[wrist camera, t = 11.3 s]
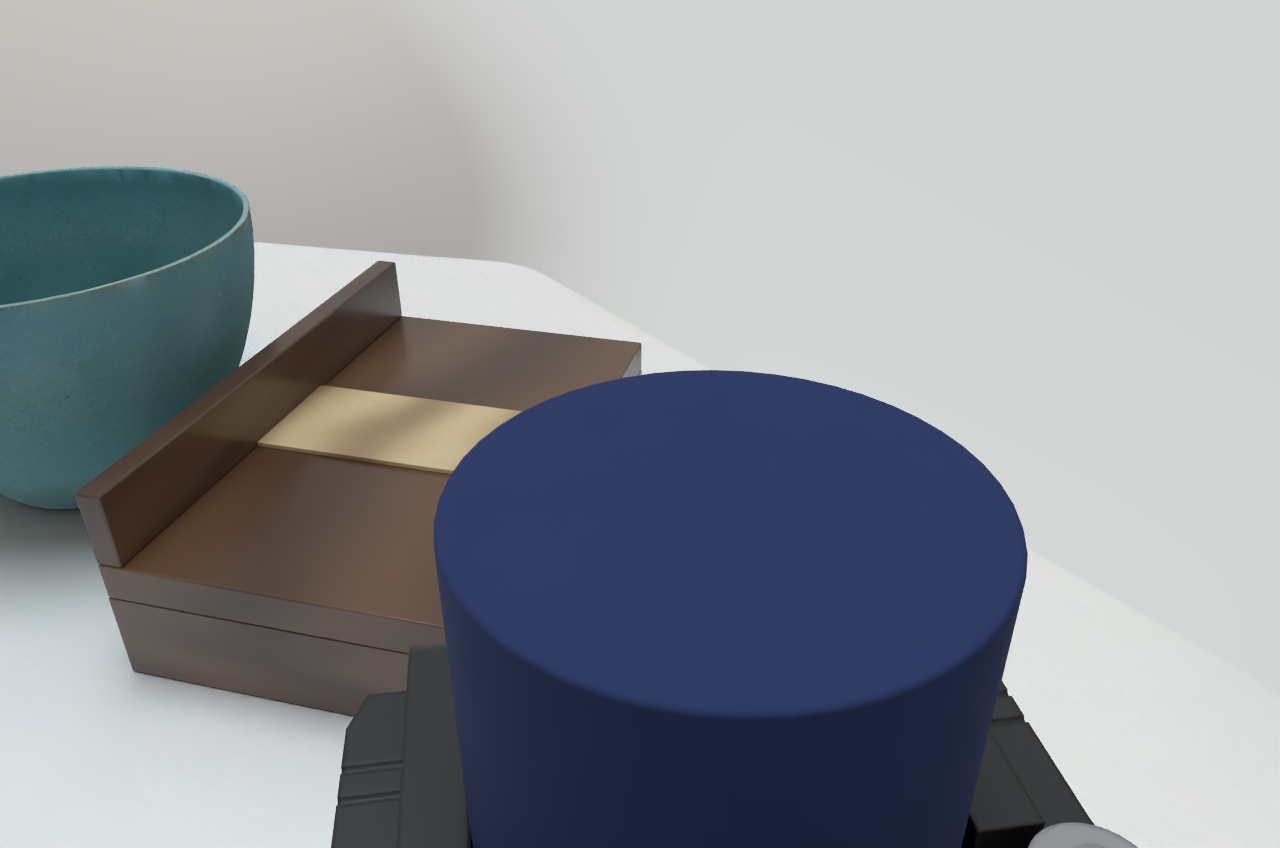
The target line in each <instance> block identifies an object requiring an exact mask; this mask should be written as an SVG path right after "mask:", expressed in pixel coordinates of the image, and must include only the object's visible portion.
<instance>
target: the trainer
mask: <svg viewBox="0 0 1280 848" xmlns="http://www.w3.org/2000/svg"><path fill="white" fill-rule="evenodd" d="M434 553H435V561H436V568H437V576H438V584H439V592H440V600H441V608H442V615H443V623H444V631H445V639H446V647H447V655H448V662H449V670H450V678H451V686H452V694H453V702H454V710H455V717H456V725H457V733H458V741H459V749H460V757H461V764H462V772H463V780H464V788H465V796H466V804H467V811H468V819H469V827H470V834H471V841H472V848H961V847H962V842H963V838H964V834H965V830H966V826H967V822H968V817H969V813H970V809H971V805H972V801H973V797H974V793H975V788H976V784H977V780H978V776H979V772H980V768H981V763H982V759H983V755H984V751H985V747H986V743H987V738H988V734H989V730H990V726H991V722H992V718H993V713H994V709H995V705H996V701H997V697H998V693H999V688H1000V684H1001V680H1002V676H1003V672H1004V668H1005V663H1006V659H1007V655H1008V651H1009V647H1010V643H1011V638H1012V634H1013V630H1014V626H1015V622H1016V618H1017V613H1018V609H1019V605H1020V601H1021V597H1022V593H1023V588H1024V584H1025V580H1026V570H1027V548H1026V542H1025V537H1024V531H1023V527H1022V524H1021V522H1020V520H1019V517H1018V515H1017V512H1016V509H1015V507H1014V505H1013V503H1012V501H1011V500H1010V498H1009V497H1008V495H1007V493H1006V492H1005V490H1004V489H1003V487H1002V485H1001V484H1000V483H999V482H998V480H997V479H996V478H995V477H994V476H993V475H992V473H991V472H990V471H989V470H988V469H987V468H986V467H985V465H984V464H983V463H981V462H980V461H979V460H978V459H977V458H976V457H975V456H974V455H972V454H971V453H970V452H969V451H968V450H967V449H966V448H964V447H963V446H962V445H960V444H959V443H958V442H956V441H955V440H953V439H952V438H950V437H949V436H948V435H946V434H945V433H943V432H942V431H940V430H938V429H937V428H935V427H933V426H932V425H930V424H928V423H926V422H924V421H923V420H921V419H919V418H918V417H916V416H913V415H911V414H909V413H907V412H905V411H903V410H900V409H898V408H896V407H894V406H892V405H889V404H887V403H884V402H881V401H879V400H876V399H873V398H871V397H868V396H865V395H863V394H859V393H856V392H852V391H849V390H846V389H842V388H839V387H836V386H831V385H827V384H823V383H818V382H814V381H810V380H805V379H799V378H793V377H787V376H780V375H774V374H764V373H753V372H744V371H718V370H704V371H676V372H664V373H653V374H646V375H639V376H632V377H625V378H621V379H616V380H611V381H606V382H602V383H597V384H594V385H590V386H587V387H583V388H580V389H576V390H573V391H570V392H567V393H564V394H562V395H559V396H556V397H554V398H551V399H548V400H546V401H543V402H541V403H539V404H537V405H535V406H533V407H531V408H529V409H527V410H525V411H523V412H521V413H519V414H517V415H516V416H514V417H512V418H511V419H509V420H508V421H506V422H504V423H503V424H501V425H499V426H498V427H497V428H495V429H494V430H493V431H492V432H490V433H489V434H488V435H486V436H485V437H484V438H483V439H481V440H480V441H479V442H478V443H477V444H476V445H475V446H474V447H473V448H472V449H471V450H470V451H469V452H468V453H467V454H466V455H465V456H464V457H463V458H462V460H461V461H460V463H459V464H458V465H457V467H456V468H455V470H454V471H453V472H452V474H451V475H450V477H449V479H448V481H447V483H446V485H445V487H444V490H443V492H442V494H441V496H440V498H439V501H438V506H437V510H436V514H435V519H434Z"/></svg>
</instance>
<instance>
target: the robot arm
mask: <svg viewBox="0 0 1280 848" xmlns="http://www.w3.org/2000/svg"><path fill="white" fill-rule="evenodd" d="M341 768H342V774H341V775H340V782H339V790H338V806H336V813H335V821H334V829H333V837H332V845H331V848H472V841H471V834H470V827H469V819H468V811H467V804H466V796H465V788H464V780H463V772H462V764H461V757H460V749H459V741H458V733H457V725H456V717H455V710H454V702H453V694H452V686H451V678H450V670H449V662H448V655H447V647H446V643H442V644H433V645H423V646H414V647H410V650H409V658H408V674H407V690H406V691H399V692H389V693H380V694H371V695H368V696H367V697H366V699H365V700H364V702H363V704H362V705H361V707H360V708H359V710H358V712H357V713H356V715H355V716H354V718H353V719H352V721H351V723H350V724H349V726H348V727H347V729H346V735H345V742H344V750H343V758H342V766H341ZM961 848H1137V847H1136V846H1135V845H1134V844H1132V843H1131V842H1129V841H1128V840H1126V839H1125V838H1123V837H1121V836H1120V835H1118V834H1116V833H1113V832H1111V831H1109V830H1107V829H1104V828H1101V827H1098V826H1095V825H1094V823H1093V822H1092V821H1091V819H1090V818H1089V817H1088V815H1087V813H1086V812H1085V810H1084V809H1083V807H1082V806H1081V804H1080V803H1079V801H1078V799H1077V798H1076V796H1075V795H1074V793H1073V792H1072V790H1071V788H1070V787H1069V785H1068V784H1067V782H1066V781H1065V779H1064V777H1063V776H1062V774H1061V773H1060V771H1059V770H1058V768H1057V767H1056V765H1055V763H1054V762H1053V760H1052V759H1051V757H1050V756H1049V754H1048V752H1047V751H1046V749H1045V748H1044V746H1043V745H1042V743H1041V741H1040V740H1039V738H1038V737H1037V735H1036V734H1035V732H1034V731H1033V729H1032V727H1031V726H1030V724H1029V723H1028V722H1025V721H1024V715H1023V713H1022V712H1021V710H1020V709H1019V707H1018V705H1017V704H1016V702H1015V701H1014V699H1013V698H1012V696H1008V693H1007V688H1006V687H1005V685H1004V684H1003V682H1002V680H1001V684H1000V688H999V693H998V697H997V701H996V705H995V709H994V713H993V718H992V722H991V726H990V730H989V734H988V738H987V743H986V747H985V751H984V755H983V759H982V763H981V768H980V772H979V776H978V780H977V784H976V788H975V793H974V797H973V801H972V805H971V809H970V813H969V817H968V822H967V826H966V830H965V834H964V838H963V842H962V847H961Z"/></svg>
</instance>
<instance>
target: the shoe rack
mask: <svg viewBox="0 0 1280 848" xmlns="http://www.w3.org/2000/svg"><path fill="white" fill-rule="evenodd" d="M401 315H402V313H401V305H400V297H399V289H398V281H397V273H396V265H395V263H394V262H385V261H377V262H376V263H375V264H373V265H372V266H371V267H370V268H368V269H367V270H366V271H364V272H363V273H362V274H360V275H359V276H358V277H356V278H355V279H354V280H353V281H351V282H350V283H349V284H347V285H346V286H345V287H343V288H342V289H341V290H340V291H338V292H337V293H336V294H334V295H333V296H332V297H330V298H329V299H328V300H326V301H325V302H324V303H323V304H321V305H320V306H319V307H317V308H316V309H315V310H313V311H312V312H311V313H309V314H308V315H307V316H306V317H304V318H303V319H302V320H300V321H299V322H298V323H296V324H295V325H294V326H292V327H291V328H290V329H289V330H287V331H286V332H285V333H283V334H282V335H281V336H279V337H278V338H277V339H275V340H274V341H273V342H272V343H270V344H269V345H268V346H266V347H265V348H264V349H262V350H261V351H260V352H259V353H257V354H256V355H255V356H253V357H252V358H251V359H249V360H248V361H247V362H245V363H244V364H243V365H242V366H240V367H239V368H238V369H236V370H235V371H234V372H232V373H231V374H230V375H228V376H227V377H226V378H225V379H223V380H222V381H221V382H219V383H218V384H217V385H215V386H214V387H213V388H211V389H210V390H209V391H208V392H206V393H205V394H204V395H202V396H201V397H200V398H198V399H197V400H196V401H194V402H193V403H192V404H191V405H189V406H188V407H187V408H185V409H184V410H183V411H181V412H180V413H179V414H177V415H176V416H175V417H174V418H172V419H171V420H170V421H168V422H167V423H166V424H164V425H163V426H162V427H161V428H159V429H158V430H157V431H155V432H154V433H153V434H151V435H150V436H149V437H147V438H146V439H145V440H144V441H142V442H141V443H140V444H138V445H137V446H136V447H134V448H133V449H132V450H130V451H129V452H128V453H127V454H125V455H124V456H123V457H121V458H120V459H119V460H117V461H116V462H115V463H113V464H112V465H111V466H110V467H108V468H107V469H106V470H104V471H103V472H102V473H100V474H99V475H98V476H96V477H95V478H94V479H93V480H91V481H90V482H89V483H87V484H86V485H85V486H83V487H82V488H81V489H79V490H78V491H77V492H76V493H75V497H76V500H77V503H78V506H79V509H80V512H81V515H82V518H83V521H84V524H85V527H86V530H87V533H88V536H89V539H90V542H91V545H92V548H93V551H94V554H95V557H96V560H97V562H98V563H99V569H100V572H101V575H102V578H103V581H104V584H105V587H106V590H107V593H108V596H109V597H110V598H109V600H110V603H111V606H112V609H113V612H114V615H115V618H116V621H117V624H118V627H119V630H120V633H121V636H122V639H123V642H124V645H125V648H126V651H127V654H128V657H129V660H130V663H131V666H132V669H133V671H137V672H142V673H147V674H152V675H157V676H162V677H166V678H171V679H176V680H181V681H186V682H191V683H196V684H201V685H205V686H210V687H215V688H220V689H225V690H230V691H235V692H240V693H244V694H249V695H254V696H259V697H264V698H269V699H274V700H279V701H284V702H288V703H293V704H298V705H303V706H308V707H313V708H318V709H323V710H327V711H332V712H337V713H342V714H347V715H352V716H355V715H356V713H357V712H358V710H359V708H360V707H361V705H362V704H363V702H364V700H365V699H366V697H367V696H368V695H371V694H380V693H389V692H399V691H406V690H407V674H408V658H409V650H410V647H414V646H423V645H433V644H442V643H446V639H445V631H444V623H443V615H442V608H441V600H440V592H439V584H438V576H437V568H436V561H435V553H434V519H435V514H436V510H437V506H438V501H439V498H440V496H441V494H442V492H443V490H444V487H445V485H446V483H447V481H448V479H449V477H450V475H451V474H452V472H453V471H454V470H455V468H456V467H457V465H458V464H459V463H460V461H461V460H462V458H463V457H464V456H465V455H466V454H467V453H468V452H469V451H470V450H471V449H472V448H473V447H474V446H475V445H476V444H477V443H478V442H479V441H480V440H481V439H483V438H484V437H485V436H486V435H488V434H489V433H490V432H492V431H493V430H494V429H495V428H497V427H498V426H499V425H501V424H503V423H504V422H506V421H508V420H509V419H511V418H512V417H514V416H516V415H517V414H519V413H521V412H523V411H525V410H527V409H529V408H531V407H533V406H535V405H537V404H539V403H541V402H543V401H546V400H548V399H551V398H554V397H556V396H559V395H562V394H564V393H567V392H570V391H573V390H576V389H580V388H583V387H587V386H590V385H594V384H597V383H602V382H606V381H611V380H616V379H621V378H625V377H632V376H639V375H641V343H636V342H627V341H618V340H609V339H601V338H592V337H583V336H574V335H565V334H556V333H547V332H538V331H529V330H520V329H511V328H502V327H494V326H485V325H476V324H467V323H458V322H449V321H440V320H431V319H422V318H413V317H404V316H401Z"/></svg>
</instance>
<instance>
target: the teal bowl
mask: <svg viewBox="0 0 1280 848" xmlns="http://www.w3.org/2000/svg"><path fill="white" fill-rule="evenodd" d="M253 289H254V241H253V228H252V221H251V214H250V207H249V202H248V199H247V197H246V196H245V195H244V193H243V192H242V191H241V190H240V189H239V188H237V187H235V186H234V185H232V184H230V183H229V182H226V181H224V180H221V179H219V178H216V177H213V176H208V175H205V174H201V173H196V172H191V171H186V170H176V169H167V168H154V167H128V166H127V167H126V166H125V167H124V166H123V167H82V168H69V169H57V170H46V171H37V172H30V173H23V174H16V175H8V176H1V177H0V495H2V496H4V497H6V498H9V499H11V500H14V501H17V502H20V503H23V504H26V505H29V506H34V507H39V508H46V509H79V506H78V503H77V500H76V497H75V493H76V492H77V491H78V490H79V489H81V488H82V487H83V486H85V485H86V484H87V483H89V482H90V481H91V480H93V479H94V478H95V477H96V476H98V475H99V474H100V473H102V472H103V471H104V470H106V469H107V468H108V467H110V466H111V465H112V464H113V463H115V462H116V461H117V460H119V459H120V458H121V457H123V456H124V455H125V454H127V453H128V452H129V451H130V450H132V449H133V448H134V447H136V446H137V445H138V444H140V443H141V442H142V441H144V440H145V439H146V438H147V437H149V436H150V435H151V434H153V433H154V432H155V431H157V430H158V429H159V428H161V427H162V426H163V425H164V424H166V423H167V422H168V421H170V420H171V419H172V418H174V417H175V416H176V415H177V414H179V413H180V412H181V411H183V410H184V409H185V408H187V407H188V406H189V405H191V404H192V403H193V402H194V401H196V400H197V399H198V398H200V397H201V396H202V395H204V394H205V393H206V392H208V391H209V390H210V389H211V388H213V387H214V386H215V385H217V384H218V383H219V382H221V381H222V380H223V379H225V378H226V377H227V376H228V375H230V374H231V373H232V372H234V371H235V370H236V369H238V367H239V364H240V361H241V358H242V354H243V351H244V347H245V343H246V338H247V333H248V328H249V323H250V318H251V310H252V301H253Z"/></svg>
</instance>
